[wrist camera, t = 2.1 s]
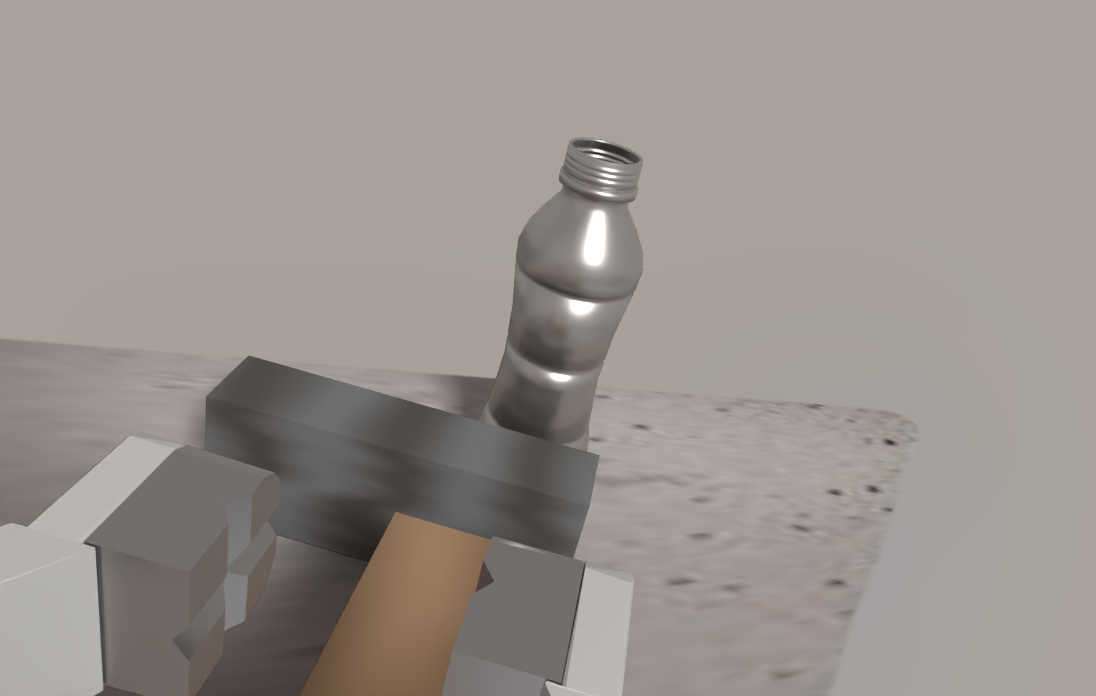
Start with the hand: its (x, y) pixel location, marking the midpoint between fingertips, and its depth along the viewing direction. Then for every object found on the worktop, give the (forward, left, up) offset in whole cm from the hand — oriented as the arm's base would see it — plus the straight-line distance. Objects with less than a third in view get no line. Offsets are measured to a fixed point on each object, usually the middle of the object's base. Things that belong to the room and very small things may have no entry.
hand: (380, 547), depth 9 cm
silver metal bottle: (-16, +28, -24) cm, 41 cm away
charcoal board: (-17, +19, -24) cm, 35 cm away
